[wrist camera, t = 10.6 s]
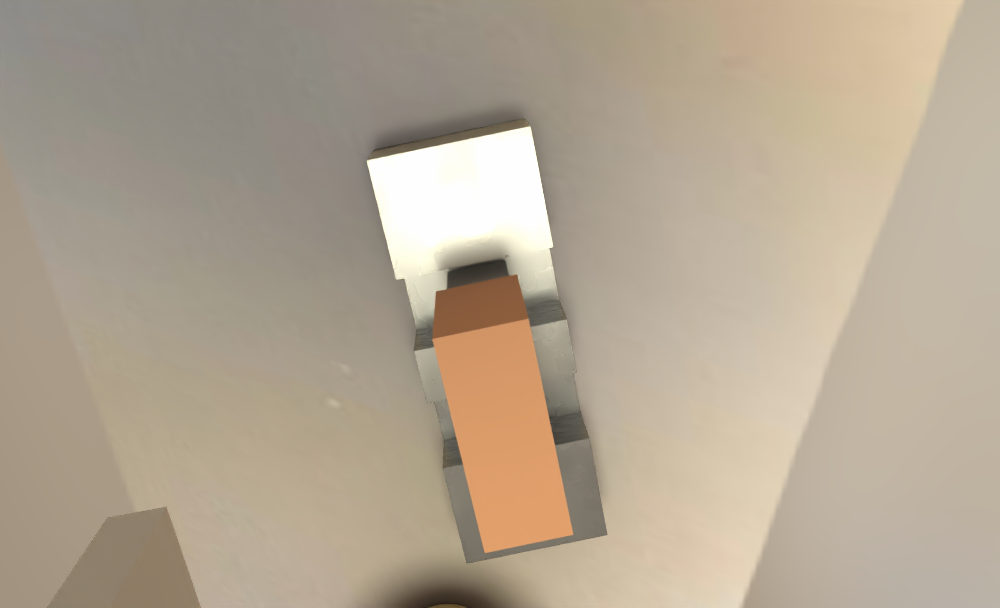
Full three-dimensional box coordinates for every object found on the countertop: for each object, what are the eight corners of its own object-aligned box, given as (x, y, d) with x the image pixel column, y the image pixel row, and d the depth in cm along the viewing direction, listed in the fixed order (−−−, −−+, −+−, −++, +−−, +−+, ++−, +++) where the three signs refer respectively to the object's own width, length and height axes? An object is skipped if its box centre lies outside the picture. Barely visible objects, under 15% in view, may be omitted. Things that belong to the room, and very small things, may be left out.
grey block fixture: (373, 150, 40) (366, 160, 36) (524, 118, 40) (530, 126, 36) (465, 524, 46) (466, 563, 42) (596, 498, 46) (607, 535, 42)
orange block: (437, 264, 41) (432, 339, 31) (510, 248, 41) (528, 318, 31) (477, 433, 44) (484, 553, 34) (546, 419, 43) (573, 534, 33)
